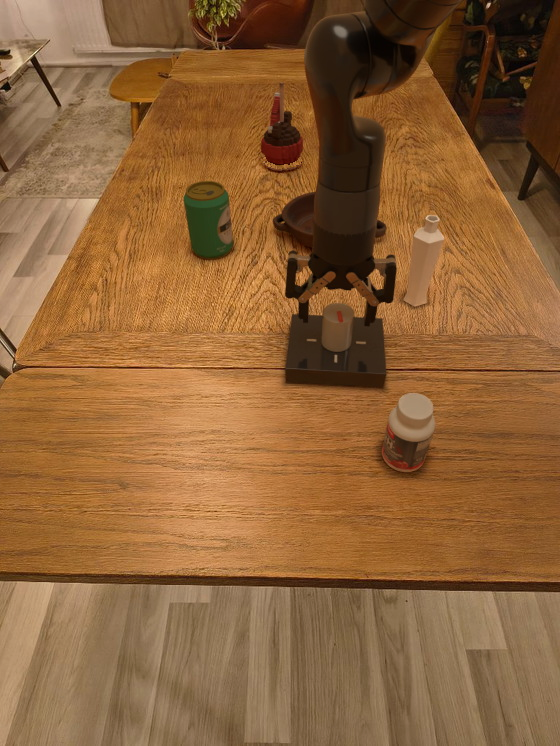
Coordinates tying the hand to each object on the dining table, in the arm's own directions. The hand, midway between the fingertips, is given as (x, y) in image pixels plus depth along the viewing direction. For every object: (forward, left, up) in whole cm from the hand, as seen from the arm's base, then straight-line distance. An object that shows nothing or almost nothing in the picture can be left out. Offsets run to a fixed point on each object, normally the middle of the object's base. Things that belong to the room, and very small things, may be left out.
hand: (336, 321), depth 72 cm
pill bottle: (-9, +17, -7) cm, 21 cm away
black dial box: (0, 0, -7) cm, 7 cm away
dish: (+2, -35, -7) cm, 36 cm away
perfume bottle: (-13, -15, -7) cm, 22 cm away
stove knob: (0, 0, -4) cm, 4 cm away
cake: (+14, -66, -7) cm, 68 cm away
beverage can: (+24, -28, -7) cm, 38 cm away
